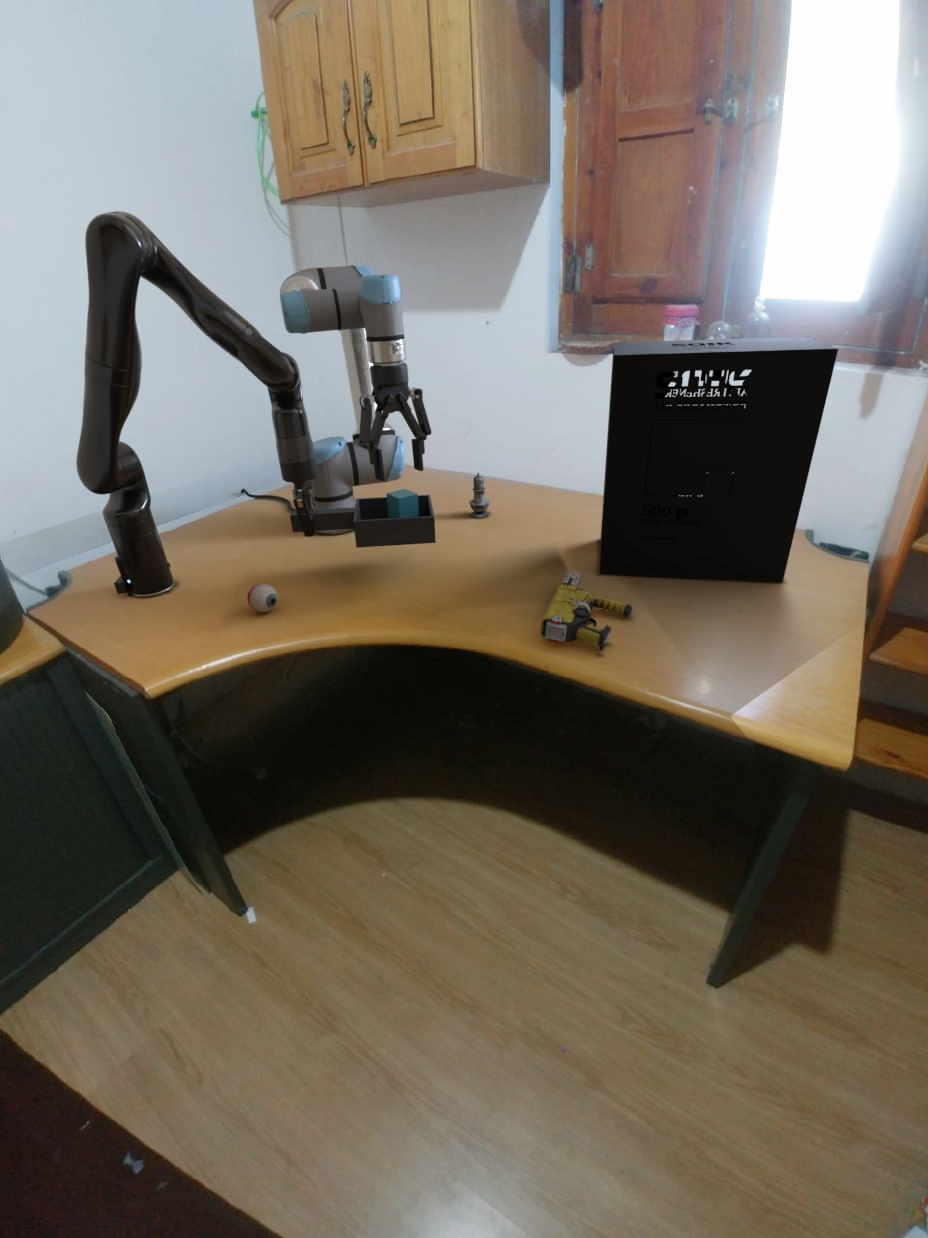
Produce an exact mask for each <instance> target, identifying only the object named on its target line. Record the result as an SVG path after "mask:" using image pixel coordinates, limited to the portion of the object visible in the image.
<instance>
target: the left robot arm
mask: <svg viewBox="0 0 928 1238" xmlns="http://www.w3.org/2000/svg"><path fill="white" fill-rule="evenodd" d="M84 235H85V237H84V245H85V246H84V247H85V258H86V259H85V260H86V271H87V283H88V304H87V305H88V306H87V307H88V308H87V316H86V331H85V332H86V334H85V335H86V336H85V346H84V347H85V349H84V367H83V368H84V370H83V371H84V373H83V374H84V375H83V376H84V383H83V384H84V385H83V386H84V387H83V388H84V389H83V402H82V403H83V404H82V405H83V406H82V420H81V421H82V422H81V428H80V429H81V430H80V433H79V434H80V435H79V439H78V440H79V441H78V447H77V451H76V460H75V461H76V462H75V465H76V472H77V476H78V478H79V480H80V483H82V485H83V486H84V487H85V488H86V489H87V490H88V491H90V492H91V493H93V494H96V495H99V496H100V495H109V496H108V500H107V502H106V504H105V506H104V507H103V509H102V517H103V520H104V522H105V525H106V528H107V531H108V533H109V536H110V538H111V541H112V544H113V546H114V547H113V548H114V549H115V552H116V556H115V557H114V561H115V564H116V566H117V569H118V572H119V576H118V577H117V579H116V580H115V581H114V582H113V586H114V587H115V590H116V593H117V595H127V596H128V597H134V598H138V599H148V598H154V597H158V596H162V595H163V594H166V593H168V592H170V591H171V590H173V588H174V587H175V586H176V581H175V579H174V577H173V574H172V571H171V568H172V566H171V564H170V563H169V561H168V558H167V556H166V553H165V550H164V545H163V543H162V541H161V537H160V534H159V532H158V531H159V530H158V528H157V525H156V522H155V519H154V515H153V512H152V509H151V506H152V505H151V504H152V497H151V492H150V488H149V485H148V482H147V478H146V474H145V470H144V467H143V464H142V462H141V459H140V457H139V455H138V454H137V452H136V451H135V450H134V449H133V447H132V446H130V445H129V444H127V443H126V442H124V441H120V439H121V435H122V431H123V428H124V426H125V424H126V422H127V419H128V418H129V415H130V414H131V412H132V410H133V407H134V405H135V403H136V402H137V399H138V396H139V392H140V388H141V383H142V382H141V380H142V369H143V351H142V343H141V337H140V334H139V329H138V324H137V317H136V313H137V312H136V309H137V300H138V299H137V298H138V293H139V292H138V291H139V286H140V282H141V281H140V280H141V278H142V279H144V280H146V281H147V282H148V283H150V284H152V285H153V286H155V287H156V288H157V289H159V290H160V291H161V292H163V293H164V294H165V295H166V296H167V297H168V298H169V299H171V300H172V301H173V302H174V303H175V304H176V305H177V306H178V307H179V308H180V309H181V311H183V313H184V314H185V315H186V316H187V318H189V320H190V321H191V322H192V323H193V324H194V325H195V326H196V327H197V329H198V330H200V331H201V332H202V334H204V335H205V336H206V337H207V338H208V339H210V340H211V341H212V342H213V343H214V344H216V345H217V346H218V347H219V348H220V349H222V350H223V351H224V352H225V353H227V354H229V355H230V356H231V357H232V358H233V359H235V360H237V361H238V362H240V364H242V365H243V366H244V367H245V368H246V370H248V371H249V372H250V373H251V374H252V375H253V376H254V377H255V378H256V379H257V380H258V381H260V382H261V383H262V384H263V385H264V386H265V387H266V388H267V392H268V396H269V401H270V405H271V411H270V412H271V421H272V427H273V431H274V436H275V448H276V453H277V458H278V463H279V469H280V474H281V479H282V480H283V481H284V482H286V483H292V484H293V488H292V489H291V492H292V497H293V500H292V503H293V505H294V509H296V512H297V515H298V520H299V521H302V525H303V531H304V532H303V536H304V537H306V538H309V537H314V536H315V534H316V533H315V532H314V527H313V521H312V519H313V517H312V513H311V510H315V509H314V508H315V504H314V501H315V500H314V495H313V483H312V481H310V480H313V479H315V478H316V477H317V476H318V470H317V464H316V458H315V452H314V447H313V442H314V441H313V439H312V436H311V431H310V425H309V419H308V414H307V410H306V407H305V403H304V395H303V387H302V380H301V371H300V366H299V364H298V362H297V360H296V359H295V358H294V357H293V356H292V355H290V354H289V353H287V352H284V351H281V350H280V349H278V348H277V347H276V346H275V345H274V344H273V343H271V342H270V341H269V340H267V339H266V338H265V337H264V336H263V335H262V334H261V332H260V331H259V330H258V328H257V327H255V326H254V325H253V324H252V323H250V321H248V320H247V319H246V318H245V317H243V316H242V315H241V314H240V313H239V312H238V311H236V310H235V309H234V308H233V307H231V306H230V305H229V304H228V303H226V302H225V301H224V300H223V299H222V298H221V297H219V296H218V295H217V294H216V293H215V292H213V290H211V289H210V288H209V287H208V286H207V285H206V284H204V282H202V281H201V280H200V279H199V278H198V277H196V275H194V274H193V273H192V272H191V271H190V270H189V269H188V268H187V267H186V266H185V265H184V264H183V263H182V262H181V261H180V260H179V259H178V258H177V257H176V256H175V255H174V254H173V253H172V251H170V250H169V249H168V248H167V246H166V245H165V244H164V243H163V242H162V241H161V240H160V238H159V237H158V236H157V235H156V234H155V233H154V232H153V231H152V230H151V229H150V228H149V227H148V226H147V225H146V223H144V222H143V221H142V220H141V219H140V218H139V217H137V216H135V215H133V214H132V213H130V212H126V211H120V210H116V211H108V212H103V213H100V214H97V215H95V217H93V218H92V219H91V220H90V221H89V223H88V225H87V227H86V230H85V234H84ZM302 513H306V514H307V515H303V514H302Z"/></svg>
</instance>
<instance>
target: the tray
mask: <svg viewBox="0 0 928 1238" xmlns="http://www.w3.org/2000/svg"><path fill="white" fill-rule="evenodd" d="M355 500H356V505H355V507H354V508H336V509H318V510H311V513H312V517H313V519H312V521H313V527H314V531H327V530H344V529H354V530H353V531H354V538H355V547H356V549H357V548H372V547H373V548H374V547H389V546H390V547H391V546H406V545H407V546H408V545H424V544H436V542H437V541H436V524H435V523H436V522H435V521H436V520H435V513H434V507H433V503H432V498H431V494H418V510H419V517H409V518H391V519H389V515H388V504H387V496H382V497H363V498H362V497H360V498H355ZM302 514H303V515H307V514H306V513H302ZM289 518H290V519H289V520H290V524H291V530H292V533H304V531H303V525H302V521H299V520H298V515H297V512H296V511H291V512H290V515H289Z"/></svg>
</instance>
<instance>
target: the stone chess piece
mask: <svg viewBox="0 0 928 1238" xmlns="http://www.w3.org/2000/svg"><path fill="white" fill-rule="evenodd" d="M472 481H473V488H472V489H471V490H472V491H473V499H471V500H470V501H468V504H469V506H470V509H471V510H472V512H471V513H470V516H471V517H472V518H477V519H478V518H479V519H481V518H486V517H488V516H489V515H490V512H489V511H488V509H489V507H490V503H491V500H489V499H487V498H486V496H485V493H486V491H485V490H486V487H485V479H484V476H483V475H480V472H477V475H475V476H474V477H473V479H472Z"/></svg>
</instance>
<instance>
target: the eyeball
mask: <svg viewBox="0 0 928 1238" xmlns="http://www.w3.org/2000/svg"><path fill="white" fill-rule="evenodd" d="M246 600H247V603H248V605H249V607H250V608H251V609H252V610H254V611H255V612H258V613H268V612H270V611H272V610H273V609H274V608H275V607H276V606H277V603H278V600H279V596H278V593H277V590H276V589H275V588H274V587H273V586H272V585H270V584H267V583H258V584H255V585H253V586H252V587H251V588H250V589H249V591H248V592H247V599H246Z"/></svg>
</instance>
